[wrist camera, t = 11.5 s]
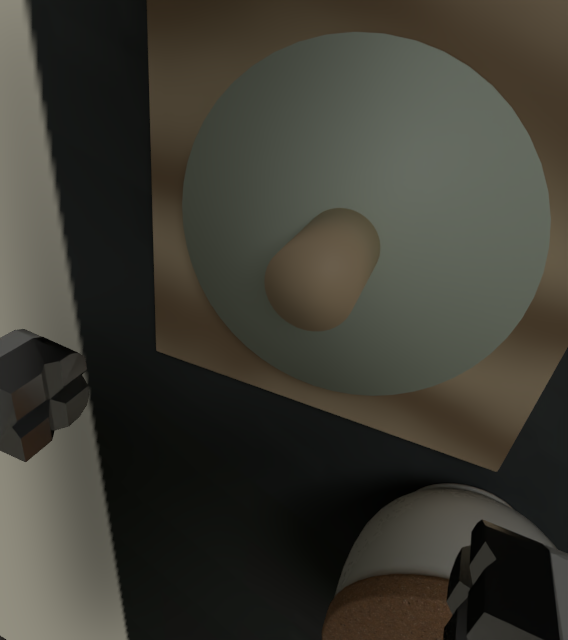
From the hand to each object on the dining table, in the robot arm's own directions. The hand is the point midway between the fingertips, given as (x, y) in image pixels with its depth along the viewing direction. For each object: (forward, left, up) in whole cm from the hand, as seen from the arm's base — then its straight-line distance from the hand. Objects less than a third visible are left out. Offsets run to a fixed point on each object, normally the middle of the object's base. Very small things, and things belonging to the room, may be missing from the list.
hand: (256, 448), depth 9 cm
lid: (0, +1, -11) cm, 11 cm away
